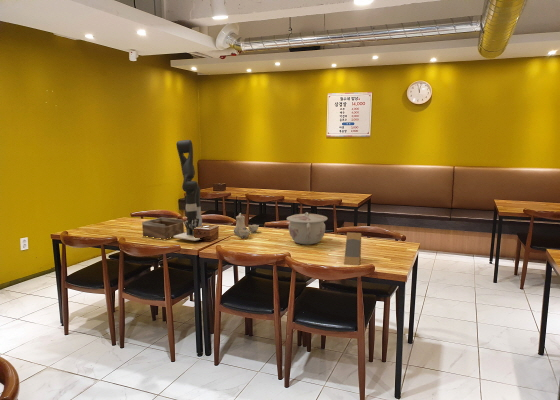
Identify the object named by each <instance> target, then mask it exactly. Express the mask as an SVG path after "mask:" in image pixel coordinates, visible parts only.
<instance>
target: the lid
mask: <svg viewBox="0 0 560 400" xmlns="http://www.w3.org/2000/svg"><path fill="white" fill-rule="evenodd" d="M185 230H186V231H184V233H182V234H179V235H175V236H173V237H174V239H175V238H176V239H181V240H188V241H199V240H201V239H200V238H195V237H194V231H193V230H194V228H192V235H189V230H188V229H186V228H185Z"/></svg>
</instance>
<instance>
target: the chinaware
mask: <svg viewBox="0 0 560 400" xmlns="http://www.w3.org/2000/svg"><path fill="white" fill-rule="evenodd" d="M235 218H236V225H235V227H234V229H233V233H234V236H236V235H237V237H238V238H241V239H248V238H247V237H248V236H249V235H250V233H252V234H256V232H257V231H258V229H259V228H260V227H259V226H260V224H252V225H251V224H248V225H247V226H246V224H245V216H244V215H243V214H242V212H240V213H239V214H238V215H237V216H235ZM247 227H248V228H247Z"/></svg>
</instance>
